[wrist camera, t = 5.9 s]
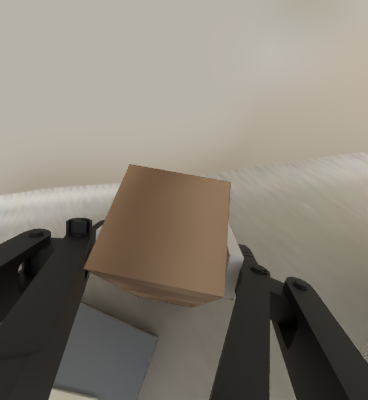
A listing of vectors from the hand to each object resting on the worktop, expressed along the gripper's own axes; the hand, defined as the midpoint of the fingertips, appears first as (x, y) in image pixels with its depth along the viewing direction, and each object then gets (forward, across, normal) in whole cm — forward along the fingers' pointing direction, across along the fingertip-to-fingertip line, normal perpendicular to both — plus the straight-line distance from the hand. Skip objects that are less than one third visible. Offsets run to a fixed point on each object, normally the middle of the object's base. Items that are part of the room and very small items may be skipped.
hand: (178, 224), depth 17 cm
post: (0, 0, -5) cm, 5 cm away
